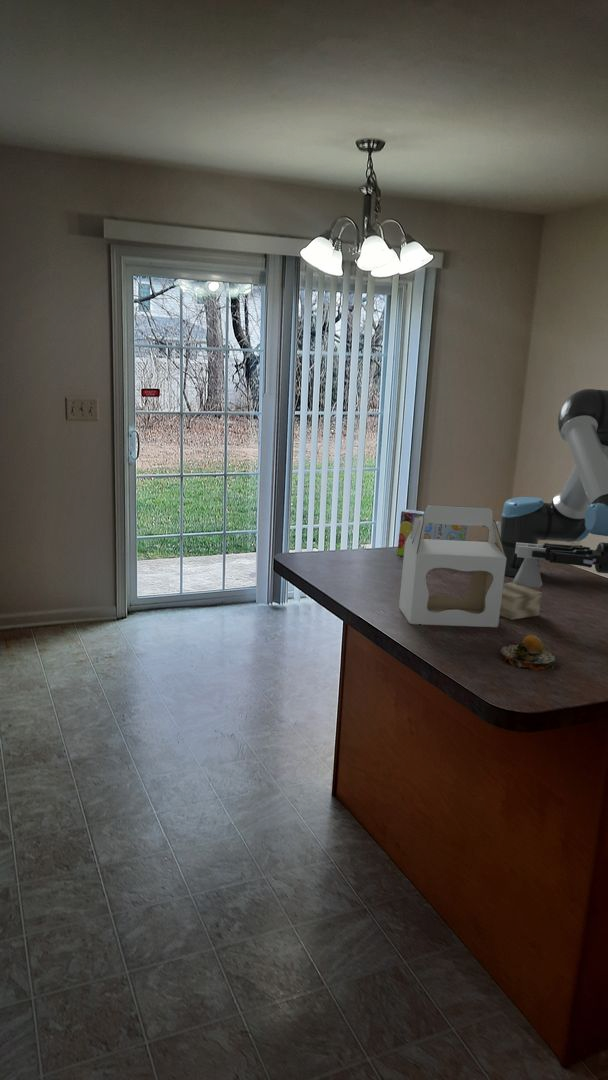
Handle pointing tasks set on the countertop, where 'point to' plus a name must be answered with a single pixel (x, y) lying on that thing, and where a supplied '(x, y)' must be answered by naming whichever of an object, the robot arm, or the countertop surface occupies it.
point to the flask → (529, 573)
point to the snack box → (428, 530)
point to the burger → (528, 654)
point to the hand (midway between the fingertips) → (517, 549)
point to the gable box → (459, 556)
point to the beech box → (519, 601)
